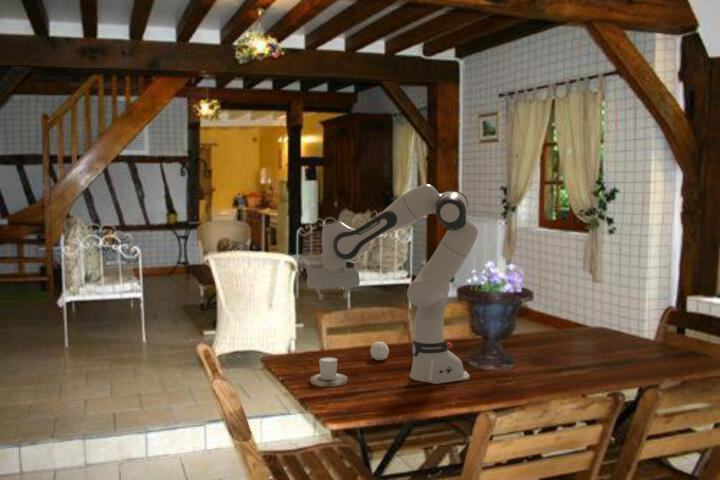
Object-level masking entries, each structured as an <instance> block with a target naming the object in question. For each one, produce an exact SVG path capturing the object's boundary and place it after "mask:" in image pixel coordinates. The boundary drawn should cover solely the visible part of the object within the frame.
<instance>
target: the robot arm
mask: <svg viewBox="0 0 720 480" xmlns="http://www.w3.org/2000/svg"><path fill="white" fill-rule="evenodd" d="M468 209H469V202H468V199H467V197H466V196H465V194H463V193H462V192H461V191H458V190H441V191H439V192H438V190H437V189H436V187H435V186H433V185H431V184H428V183H423V184H422V185H418V186H417V187H414V188H413V189H411V190H409V191H407V192H405V193H403V194H402V195H401V196H399V197H397V198H396V199H395V200H394V201H393V202H392V203H391V204H389V205H388V206H387V207H386V208H385V209H384V210H383V211H382V212H380V213H379V214H378V215H377V216H376V217H373V218H372V219H371V220H369V221H367V222H365V223H364V224H363V225H361V226H359V227H358V228H356V229H355V228H352V227H350V226H349V225H346V224H345V223H344V221H341V220H338V221H337V220H336V221H332V222H331V221H330V222H328V223H324V225H323V226H322V231H321V249H322V252H321V263H311V264H310V265H307V267H306V275H307V278H306V286H307V287H308V288H309V289H315V290H316V292H317V294H318V299H319V300H320V301H323V300H324V294H321V290H322V289H328V288H329V289H330V288H332V289H333V288H345V293H343V295H342V296H343V297H342V298H343V299H344V300H347V299H348V298H349V293H350V291H351V290H352V289H351V288H357V287H359V285H360V283H361V281H360V274H359V270H358V269H357V263H356V261H353V260H351V259H353V258H356V257H357V256H360V255H362V254H364V253H365V252H367V251H368V249H369V245H370V241H372V240H374V239H375V238H377V237H379V236H381V235H383V234H385V233H388V232H390V231H395V230H399V229H402V228H405V227H408V226H411V225H413V224H415V223H417V222H418V221H419V220H421V219H423V218H424V217H427V216H428V215H431V214H434V215H436V217H437V219H438V221H439V222H440V224H442V225H443V227H445V228H446V229H447V230H446V232H445V234H444V236H443V238H442V239H441V241H440V242H439V244H438V246H437V248H436V249H435V251H434V252H433V254H432V255H431V257H430V258H429V260H428V261H427V262H426V263H425V265H424V266H423V267H422V269H421V270H420V271H419V273H418V274H417V276H416V277H415V278H414V280H413V281H412V282H411V283H410V284H409V286H408V288H407V291H406V296H407V300H408V301H409V302H410V304H411V305H413V306H414V307H417V310H416V314H415V317H414V320H413V323H414V324H413V326H414V329H413V330H414V331H413V334H414V335H413V339H412V355H413V356H412V357H413V358H412V364H411V365H412V366H411V370H410V373H409V378H410V379H412V380H413V381H418V382H425V383H430V384H434V385H435V384H443V383H445V384H446V383H451V382H458V381H467V380H469V379H470V374H469V373H468V371H466V370H464V366H463V362H462V360H461V359H460V358H459V357H458V356H457V355H456V354H454V353H453V352H451V351H450V350H449V349H452V348H453V344H452V343H451V342H448V341H446V340H445V339H444V322H445V321H444V320H445V313H446V308H447V300H448V295H449V292H450V290H451V289H450V288H451V286H450V285H451V284H450V282H451V280H452V279H453V278H454V277H455V276H456V275H457V273H458V272H459V270H460V268H461V267H462V265H463V264H464V262H465V261H466V259H467V258H468V255H469V254H470V252H471V250H472V248H473V246H474V244H475V243H476V240H477V237H478V235H479V233H478V230H479V229H478V228H477V226H476V225H475V224H474V222H472V221H470V220H469V219H468V218H467V214H468Z"/></svg>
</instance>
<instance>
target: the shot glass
mask: <svg viewBox="0 0 720 480" xmlns="http://www.w3.org/2000/svg"><path fill="white" fill-rule="evenodd" d="M318 362H319V374H321V379H324V380H332V379H335V378H336V373H337V368H338V358H335V357H330V356H329V357H328V356H327V357H322V358H319V360H318Z"/></svg>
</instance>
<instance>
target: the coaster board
mask: <svg viewBox="0 0 720 480" xmlns="http://www.w3.org/2000/svg"><path fill="white" fill-rule="evenodd" d="M309 383H310V384H311V385H313V386H316V387H320V388H321V387H323V388H335V387H341V386H343V385H346V384H347V383H348V377H347V376H346V375H345V374H343V373H337V372H336V378H335V379H332V380H324V379H321V373H317V374H314V375H311V377H309Z"/></svg>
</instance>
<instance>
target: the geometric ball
mask: <svg viewBox="0 0 720 480" xmlns="http://www.w3.org/2000/svg"><path fill="white" fill-rule="evenodd" d="M369 351H370V354H371V357H372V358H373V359H375V360H376V361H384V360H385V359H386V358H388V355H389V352H390V349H389V346H388V345H387V344H386V343H385V342H383V341H376V342H375V343H372V344H371V346H370V350H369Z"/></svg>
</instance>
